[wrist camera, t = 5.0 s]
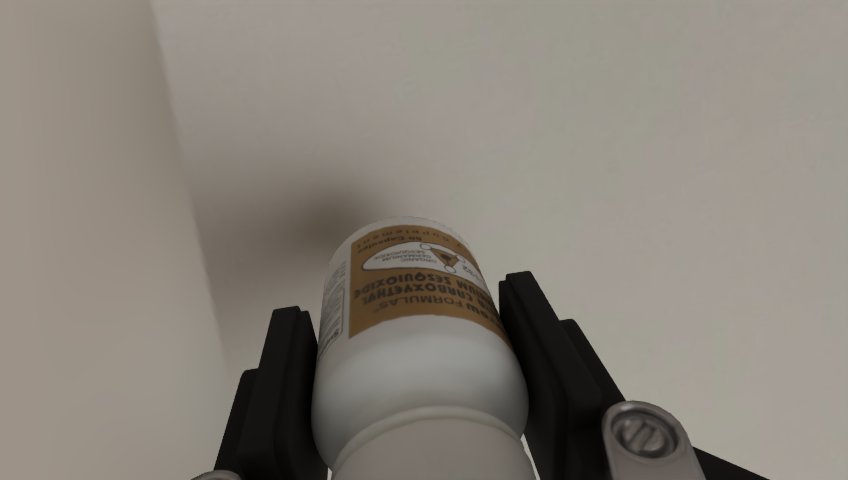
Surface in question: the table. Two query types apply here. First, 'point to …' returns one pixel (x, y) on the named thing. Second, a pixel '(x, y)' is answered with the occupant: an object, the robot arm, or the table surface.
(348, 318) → the pill bottle
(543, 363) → the robot arm
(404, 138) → the table surface
